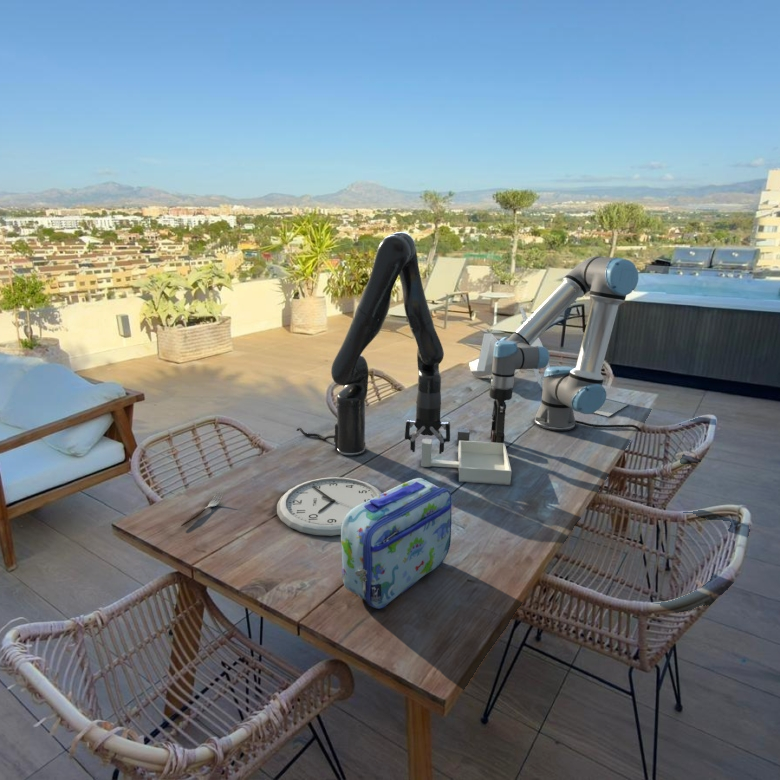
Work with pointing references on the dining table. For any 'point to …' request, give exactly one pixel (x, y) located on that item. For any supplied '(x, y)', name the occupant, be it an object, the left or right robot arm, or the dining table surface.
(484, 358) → the white plastic object
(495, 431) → the walnut block
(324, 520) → the wall clock
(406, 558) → the lunch box
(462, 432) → the charcoal block
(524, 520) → the dining table surface
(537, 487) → the dining table surface
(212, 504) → the fork
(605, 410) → the invitation card
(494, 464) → the tray
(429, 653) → the dining table surface
